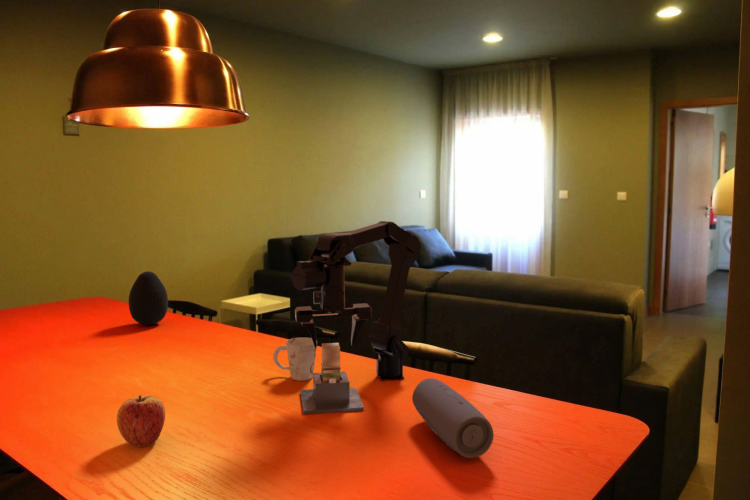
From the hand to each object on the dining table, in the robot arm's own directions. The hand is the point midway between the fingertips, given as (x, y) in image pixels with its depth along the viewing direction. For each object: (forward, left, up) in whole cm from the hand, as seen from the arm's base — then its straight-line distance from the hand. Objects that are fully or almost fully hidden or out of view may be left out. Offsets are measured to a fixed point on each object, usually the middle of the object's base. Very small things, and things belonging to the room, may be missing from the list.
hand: (334, 346), depth 147 cm
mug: (+9, -14, -12) cm, 21 cm away
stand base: (+1, +6, -12) cm, 13 cm away
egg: (+60, -82, -12) cm, 103 cm away
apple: (+41, +23, -12) cm, 49 cm away
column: (+1, +6, -7) cm, 9 cm away
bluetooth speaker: (-21, +31, -12) cm, 39 cm away
